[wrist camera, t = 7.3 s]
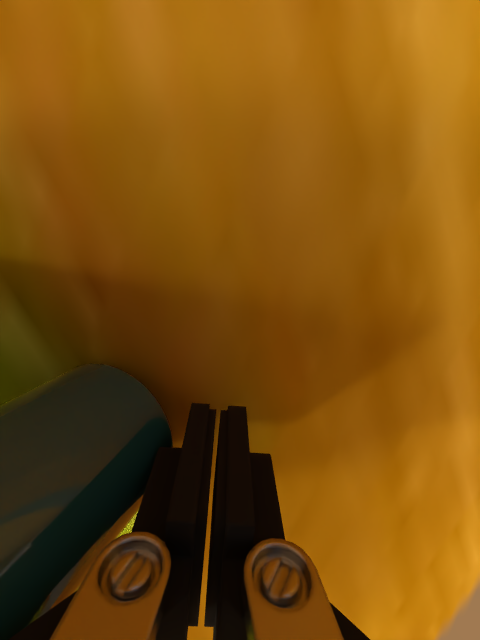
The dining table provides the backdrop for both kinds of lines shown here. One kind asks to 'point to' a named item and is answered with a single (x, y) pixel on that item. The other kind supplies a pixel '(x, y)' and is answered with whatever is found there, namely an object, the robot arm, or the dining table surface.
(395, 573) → the dining table surface
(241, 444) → the robot arm
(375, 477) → the dining table surface
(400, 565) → the dining table surface
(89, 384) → the cylinder
